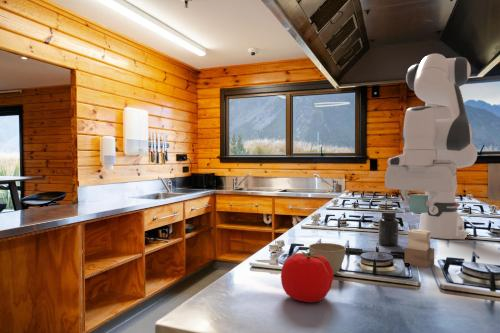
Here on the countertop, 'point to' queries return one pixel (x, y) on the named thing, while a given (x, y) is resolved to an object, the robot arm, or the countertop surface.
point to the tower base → (419, 257)
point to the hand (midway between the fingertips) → (418, 206)
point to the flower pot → (330, 253)
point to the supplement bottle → (388, 229)
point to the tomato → (307, 277)
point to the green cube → (418, 203)
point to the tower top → (419, 239)
